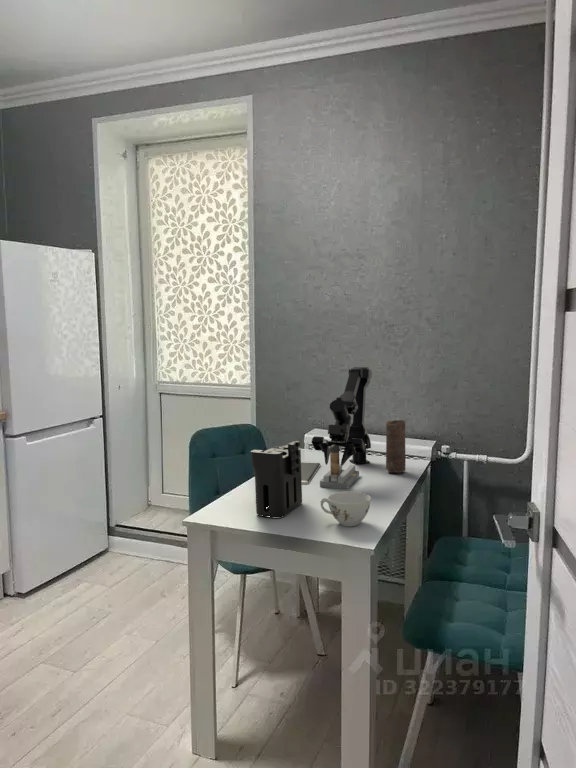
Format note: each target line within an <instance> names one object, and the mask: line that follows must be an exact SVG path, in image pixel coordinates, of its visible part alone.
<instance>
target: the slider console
mask: <svg viewBox="0 0 576 768" xmlns="http://www.w3.org/2000/svg"><path fill="white" fill-rule="evenodd" d="M339 464H340V475H339V476H338V481H337V482H334V481H331V469H330V470H329V471H327V472H326V473H325V474H324V475H323V477H322V479H320V481H319V488H329V489H331V488H332V489H342V490H343V489H344V490H348V489H349V487H350V486H351V485H353V484H354V482H355V481H356V480H357V479H358V478H359V477H360V470H356V464H350V465H348V467H347V468H346V469H343V466H341V463H339Z"/></svg>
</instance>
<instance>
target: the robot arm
mask: <svg viewBox="0 0 576 768" xmlns="http://www.w3.org/2000/svg"><path fill="white" fill-rule="evenodd" d="M372 375H373V372H372V370H371V369H370V368H369V366H354V367H351V368H349V369H348V377H347V380H346V384H345V387H344V391H343V393H341V394H340V395H339V396H338V397H336V399H335V400H332V402H330V404H329V409H330V412H331V415H332V417H333V420H335V422H334V424H328V426H327V427H328V429H327V435H329V437H328V438H329V439H330V440H328V439H326V438H325V437H324V436H319V435H314V436H313V437H312V438H311V444H312V446H313V448H314V450H315V451H321V452H322V453H323V456H324V463H325V465H326V466H327V465H328V463H329V460H330V447H331V446H332V445H338V446H339V448H344V450H343V454H342V458H341V461H340V464H341V466H342V467H343V466H344V464H345V463H346V462H347V461H348V460H349V462H350V463H352V464H353V465H362V464H369V463H370V460H368V459H367V450H369V449H372V443H371V438H370V436H369V434H368V429H367V426H366V425H365V411H366V410H365V409H366V390H367V388H368V386H369V385H370V383H371V379H372ZM351 415H353V417H352V416H351ZM351 457H352V459H350V458H351Z"/></svg>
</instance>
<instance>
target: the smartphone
mask: <svg viewBox="0 0 576 768" xmlns="http://www.w3.org/2000/svg"><path fill="white" fill-rule="evenodd" d="M320 467H321V463H320V462H307V461H306V462H305V461H304V462H303V461H301V480H302V485H309V484H310V482H311V481H312V479H313V477H314V476H315V474H316V473H317V472H318V470H319V469H320ZM308 483H309V484H308Z"/></svg>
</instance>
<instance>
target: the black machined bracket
mask: <svg viewBox="0 0 576 768" xmlns="http://www.w3.org/2000/svg"><path fill="white" fill-rule="evenodd" d="M301 450H302V449H301V442H300V441H299V440H295V441H291V442H289V443H287V444H285V445H280V446H274V447H270V448H268V449H266V450H262V449H253V450H250V455H251V466H252V469H253V473H254V487H255V489H254V490H255V491H254V492H255V509H256V510H255V512H256V514H259V515H263V516H270V517H282V516H284V517H285V516H287V515H288V514H290V513H291V512H292V511H294V510H295V509H296V508H297V506H298V507H299V506H300V505H302V503H303V489H302V488H303V487H302V486H303V484H302V480H301V462H302V453H301ZM268 506H269V508H268V509H266V507H268ZM286 514H287V515H286ZM259 515H258V516H259ZM282 518H283V517H282Z"/></svg>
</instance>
